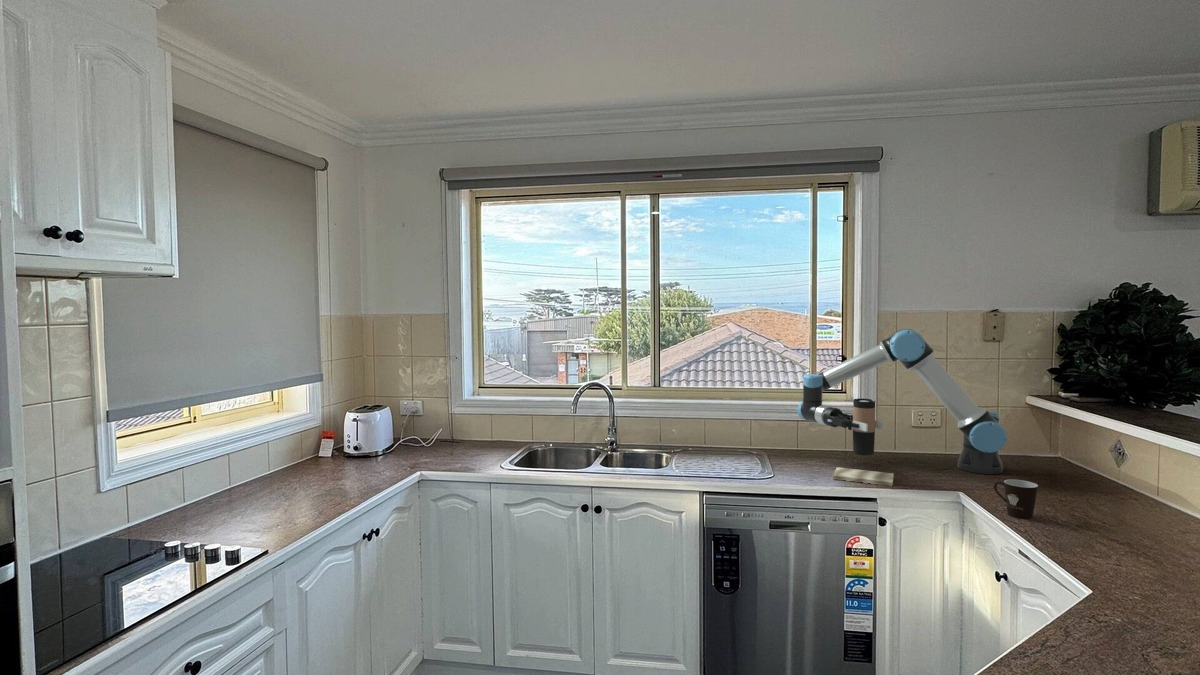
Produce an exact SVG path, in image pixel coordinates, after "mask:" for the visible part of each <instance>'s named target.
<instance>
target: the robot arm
mask: <svg viewBox="0 0 1200 675" xmlns="http://www.w3.org/2000/svg"><path fill="white" fill-rule="evenodd" d="M934 355H935V351H934V349H933V348H932V347H931V346H930V345H929V344H928V343H927V341H926V340H925V339H924V337H923V336H922V335H921V334H920V333H919V332H917V331H916V330H914V329H910V328H902V329H899V330H897V331H896V332H894V333H892V334H891V335H890V336H888V337H887V338H885V339H883V340H881V341H880V342H879V344H878V345H876V346H873V347H872V348H870V349H867V350H866V351H863V352H861V353H859V354H856V355H855V356H852V357H851V358H849V359H847V360H844V361H842V362H840V363H838V364H836V365H834V366H832V367H830V368H827V369H825V370H823V371H821V372H820V373H817V374H816V373H807V374H804V376H803V382H802V386H803V387H802V388H803V389H802V390H803V392H802V401H801V402H800V403H799V404H798V407H797V408H796V413H797V415H798V417H799V418H800V419H802V420H805V421H807V422H812V423H817V424H821V425H822V426H823V427H825V426H828V427H832V428H838V427H839V428H843V429H846V428H847V429H848V430H849V431H853V428H854V429H858V430H862V431H866V432H867V431H868V424H866V423H861V422H857V421H853V414H848V413H843V411H842V410H841V409H840V408H837V407H833V406H832V407H831V406H827V405H823V392H824V391H827V390H829V389H831V388H833V387H835V386H838V385H839V384H841V383H844V382H846V381H848V380H851V379H853V378H855V377H857V376H860V375H862V374H864V373H866V372H868V371H871V370H872V369H874V368H877V367H879V366H881V365H883V364H886V363H888V362H890V363H891V362H892V363H895V362H896V361H899V362H900V363H901V364H902V365H903V366H904V368H905V369H906V370H909V371H913V372H914V373H915V374H916V375H917V376H918V377H919V378H920V379H921V380H922V382H923V383H924V384H925V385H926V386H927V387H928V389H929V390H930V391H931V392H932V393H933V394H934V395H935V397H937V399H938V400H939V401H940V402H941V403H942V404H943V405H944V407H945V408H946V409H947V410H948V411H949V412H950V414H951V415H952V416H953V417H954V418H955V419H956V420H957V428H958V429H959V430H960V431H961V433H962V434H963V437H962V438H963V440H962V441H963V442H962V443H963V444H962V445H963V446H962V450H961V453H960V455H959V457H958V458H957V468H958V469H960V470H962V471H965V472H969V473H975V474H982V475H983V474H984V475H999V474H1002V473H1004V472H1003V470H1004V466H1003V462H1002V460H1001V457H1000V454H999V451H1000V450H1001V449H1002V448H1004V447H1005V445H1006V443H1007V430H1006V429H1005V428H1004V427H1003V426H1002V425H1001V424H1000V423H999V421H1000V416H999V413H998V412H996V411H995V412H994V411H988V409H986V408H983V407H979V406H978V405H977V404H976V403H975V402H974V401H973V399H971V397H970V396H969V395H968V394H967V393H966V391H965V390H964V389H963V388H962V387H961V386H960V385H959V384H958V383H957V382H956V380H955V379H954V378H953V377H952V376H951V375H950V374H949V372H948V371H947V370H946V369H945V368H944V366H942V365H941V364H940V363H939V361H938V360H937V358H935V357H934ZM885 423H886V422H885V421H880V420H877V419H875V429H879V430H883V431H884V430H885Z"/></svg>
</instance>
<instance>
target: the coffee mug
mask: <svg viewBox="0 0 1200 675" xmlns="http://www.w3.org/2000/svg"><path fill="white" fill-rule="evenodd" d="M997 485H1001V486H1003V487H1004V494H1005V497H1004V496H1003V495H1002V494H1001V493H999V491H998V490H997ZM1038 488H1039V485H1038V484H1037V483H1035V482H1032V481H1028V480H1023V479H1022V480H1021V479H1005V480H1004V481H1002V482H1001V481H997V482H995V483H994V485H993V489H994V491H995V493H996V494H997V495H998V497H1000V498H1001V499H1002V500H1003V501H1004V502H1005V505H1006V514H1007V515H1008V516H1010V517H1011V518H1015V519H1020V520H1031V519H1033V518H1034V511H1035V505H1036V500H1037V493H1038Z"/></svg>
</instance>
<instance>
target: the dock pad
mask: <svg viewBox="0 0 1200 675" xmlns="http://www.w3.org/2000/svg"><path fill="white" fill-rule="evenodd" d="M833 479H837V480H836V481H841V480H846V481H845V482H850V481H855V482H854V483H858V482H863V483H862V484H867V483H871V484H870V485H875V484H879V485H878V486H884V485H889V486H888V487H893V486H894V472H884V471H877V470H876V471H875V470H865V469H856V468H846V467H836V469H835V471H834V473H833V475H832V480H833Z"/></svg>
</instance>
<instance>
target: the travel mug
mask: <svg viewBox="0 0 1200 675" xmlns="http://www.w3.org/2000/svg"><path fill="white" fill-rule="evenodd" d="M852 403H853V406H852V409H853V410H852V415H853V421H857V422H861V423H866V424H868V431H867V432H866V431H862V430H858V429H854V428H852V452H853V454H855V455H859V456H872V455H873V456H874V453H875V440H876V438H875V437H876V428H875V420H876V400H874V401H873V399H870V398H854V399H853V402H852Z"/></svg>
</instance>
